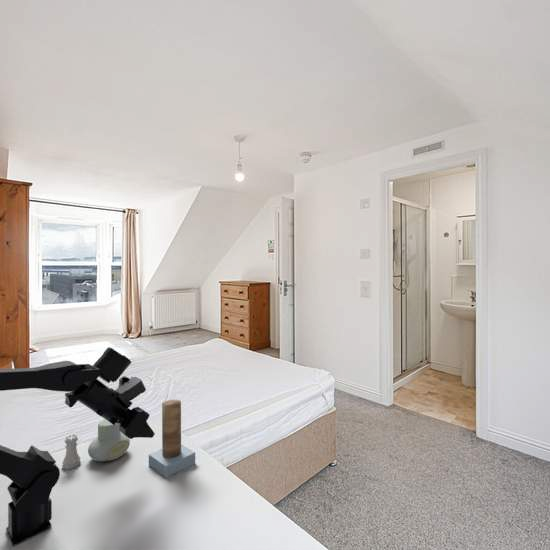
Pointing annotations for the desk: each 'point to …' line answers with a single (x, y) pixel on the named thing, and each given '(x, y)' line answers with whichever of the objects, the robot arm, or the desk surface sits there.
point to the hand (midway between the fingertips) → (145, 429)
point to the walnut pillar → (171, 428)
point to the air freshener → (108, 442)
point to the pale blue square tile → (171, 461)
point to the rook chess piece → (71, 453)
